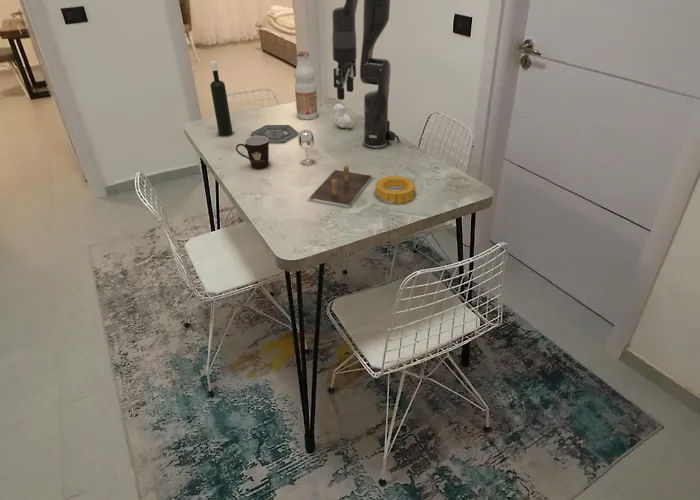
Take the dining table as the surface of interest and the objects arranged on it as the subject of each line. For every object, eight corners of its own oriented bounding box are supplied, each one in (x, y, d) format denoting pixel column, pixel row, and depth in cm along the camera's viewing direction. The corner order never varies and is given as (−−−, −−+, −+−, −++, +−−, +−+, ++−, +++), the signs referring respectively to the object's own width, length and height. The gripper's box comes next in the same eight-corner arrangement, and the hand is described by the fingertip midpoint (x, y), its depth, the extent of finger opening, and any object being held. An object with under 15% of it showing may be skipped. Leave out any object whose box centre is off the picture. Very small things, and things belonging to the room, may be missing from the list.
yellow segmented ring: (398, 182, 172) (398, 172, 170) (421, 196, 163) (422, 187, 161) (368, 192, 166) (368, 182, 164) (391, 207, 157) (391, 198, 155)
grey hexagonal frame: (255, 126, 216) (254, 125, 215) (300, 126, 215) (300, 124, 215) (247, 142, 202) (247, 140, 201) (295, 142, 201) (295, 140, 201)
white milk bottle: (296, 120, 222) (291, 55, 206) (297, 112, 230) (292, 50, 214) (317, 119, 222) (313, 55, 206) (317, 112, 230) (314, 49, 214)
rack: (335, 172, 179) (334, 156, 175) (371, 178, 174) (371, 162, 171) (309, 200, 162) (308, 183, 159) (348, 207, 158) (348, 190, 154)
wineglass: (313, 166, 183) (311, 136, 176) (298, 165, 184) (295, 135, 177) (317, 159, 188) (315, 129, 181) (302, 158, 189) (300, 129, 182)
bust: (336, 126, 221) (321, 110, 213) (348, 114, 220) (333, 97, 213) (349, 135, 212) (334, 118, 204) (361, 122, 212) (346, 105, 204)
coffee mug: (275, 162, 186) (273, 137, 180) (263, 172, 180) (260, 146, 174) (250, 157, 190) (246, 133, 184) (237, 166, 184) (233, 141, 178)
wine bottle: (235, 132, 211) (223, 60, 194) (226, 137, 207) (213, 63, 190) (225, 130, 214) (213, 58, 196) (216, 134, 210) (202, 61, 192)
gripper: (347, 50, 149) (348, 103, 158) (363, 40, 159) (363, 89, 169) (324, 49, 151) (327, 101, 160) (341, 38, 162) (342, 87, 171)
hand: (345, 95), depth 165 cm, fingers open, 8 cm apart
